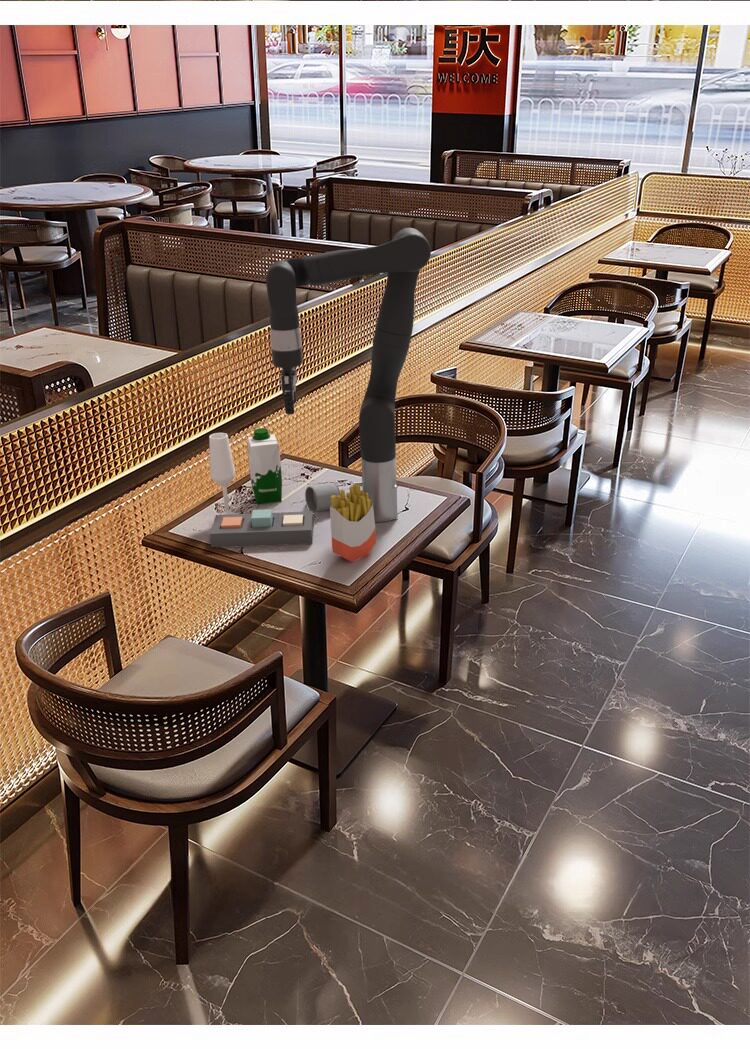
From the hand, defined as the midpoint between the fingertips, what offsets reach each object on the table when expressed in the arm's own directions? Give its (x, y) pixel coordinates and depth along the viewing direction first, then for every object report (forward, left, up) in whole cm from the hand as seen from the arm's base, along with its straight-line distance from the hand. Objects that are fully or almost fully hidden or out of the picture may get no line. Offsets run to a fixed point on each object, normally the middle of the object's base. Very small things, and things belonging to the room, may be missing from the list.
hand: (291, 408), depth 220 cm
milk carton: (+10, -16, -32) cm, 37 cm away
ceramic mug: (-6, -8, -32) cm, 34 cm away
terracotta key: (+17, +8, -31) cm, 36 cm away
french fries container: (-15, +21, -32) cm, 41 cm away
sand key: (+1, +8, -31) cm, 32 cm away
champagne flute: (+20, -4, -32) cm, 38 cm away
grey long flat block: (+9, +8, -32) cm, 34 cm away
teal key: (+9, +8, -29) cm, 31 cm away
